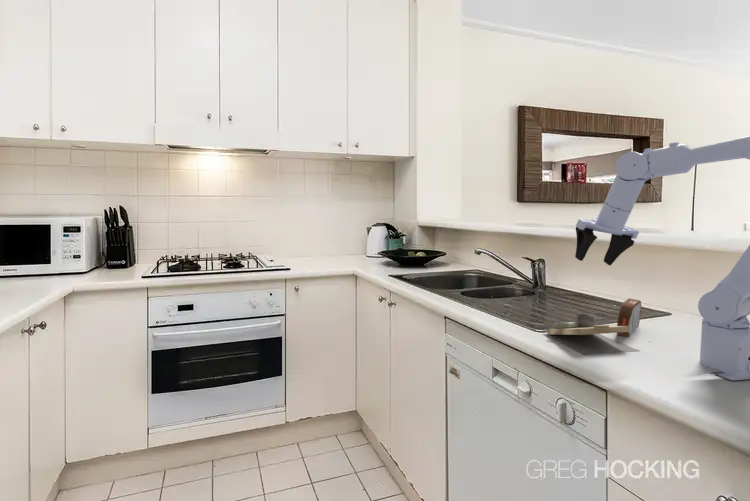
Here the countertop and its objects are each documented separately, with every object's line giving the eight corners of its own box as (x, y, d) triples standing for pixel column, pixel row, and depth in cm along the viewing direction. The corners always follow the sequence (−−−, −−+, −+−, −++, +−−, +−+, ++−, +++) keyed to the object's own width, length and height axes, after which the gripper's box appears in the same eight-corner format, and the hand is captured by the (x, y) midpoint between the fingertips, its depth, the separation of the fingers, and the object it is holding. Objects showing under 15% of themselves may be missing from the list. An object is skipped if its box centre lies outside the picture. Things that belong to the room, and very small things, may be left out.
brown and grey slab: (628, 327, 120) (629, 295, 119) (642, 329, 118) (643, 296, 117) (614, 340, 108) (616, 305, 107) (630, 343, 106) (631, 306, 105)
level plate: (546, 334, 110) (544, 316, 111) (589, 331, 112) (587, 314, 113) (582, 334, 97) (579, 314, 97) (630, 331, 98) (627, 311, 99)
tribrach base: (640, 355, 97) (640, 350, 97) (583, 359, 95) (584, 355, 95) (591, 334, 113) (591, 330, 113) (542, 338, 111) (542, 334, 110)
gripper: (634, 205, 107) (609, 257, 113) (579, 195, 104) (556, 249, 110) (654, 216, 101) (627, 271, 106) (596, 206, 98) (572, 262, 103)
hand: (592, 261), depth 108 cm, fingers open, 7 cm apart
